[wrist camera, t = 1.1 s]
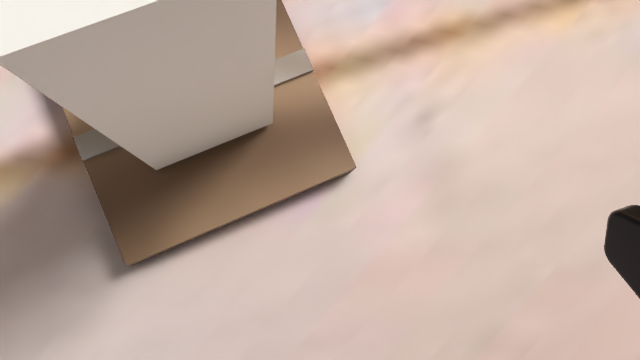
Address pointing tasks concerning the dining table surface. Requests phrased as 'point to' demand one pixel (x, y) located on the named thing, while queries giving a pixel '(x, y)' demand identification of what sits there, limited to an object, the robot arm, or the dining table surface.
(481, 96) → the dining table surface
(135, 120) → the white tall block
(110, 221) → the brown flat wooden board
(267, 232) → the dining table surface
